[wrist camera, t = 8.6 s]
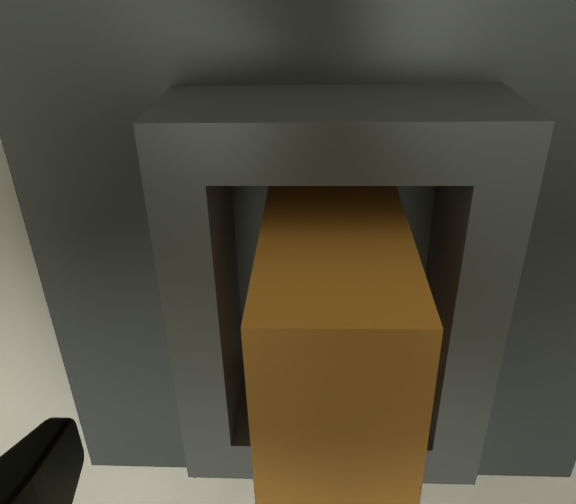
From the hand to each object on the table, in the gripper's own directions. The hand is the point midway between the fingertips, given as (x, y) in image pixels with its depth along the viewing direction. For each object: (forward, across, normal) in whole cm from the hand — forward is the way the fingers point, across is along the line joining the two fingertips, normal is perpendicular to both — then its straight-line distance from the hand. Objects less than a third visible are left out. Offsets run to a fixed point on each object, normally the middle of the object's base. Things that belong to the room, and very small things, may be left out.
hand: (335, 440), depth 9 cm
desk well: (+6, 0, 0) cm, 7 cm away
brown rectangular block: (+6, 0, 0) cm, 6 cm away
